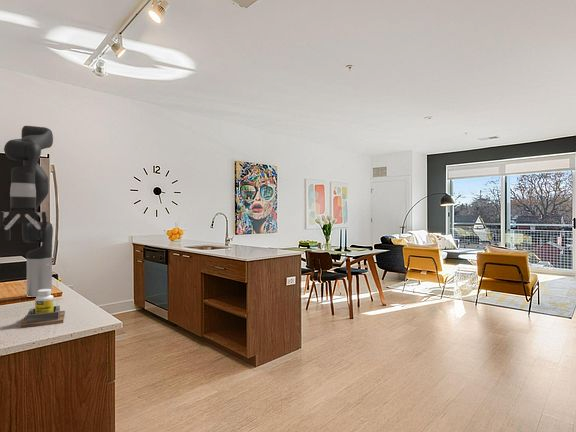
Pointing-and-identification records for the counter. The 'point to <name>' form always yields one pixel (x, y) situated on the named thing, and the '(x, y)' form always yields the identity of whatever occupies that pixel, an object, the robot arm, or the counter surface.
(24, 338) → the counter surface
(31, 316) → the socket base
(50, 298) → the supplement bottle
